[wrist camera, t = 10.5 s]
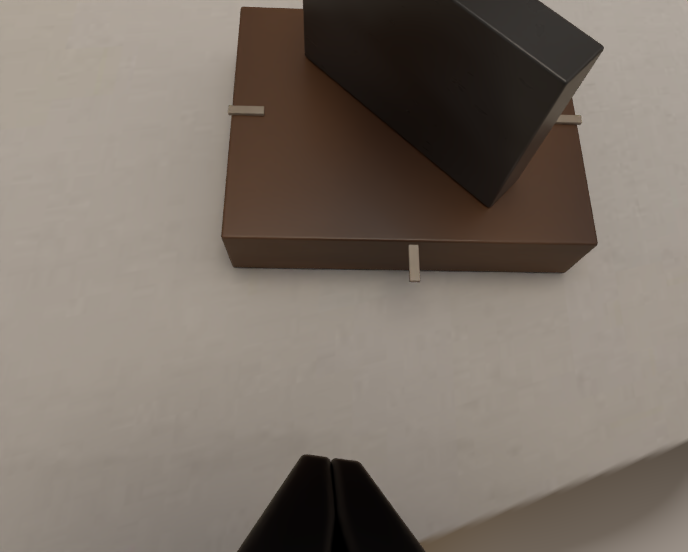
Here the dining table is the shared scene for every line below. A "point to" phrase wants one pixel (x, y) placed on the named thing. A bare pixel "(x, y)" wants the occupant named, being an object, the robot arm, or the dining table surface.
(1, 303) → the dining table surface
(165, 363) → the dining table surface
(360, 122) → the dial panel
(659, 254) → the dining table surface
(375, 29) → the pointer
